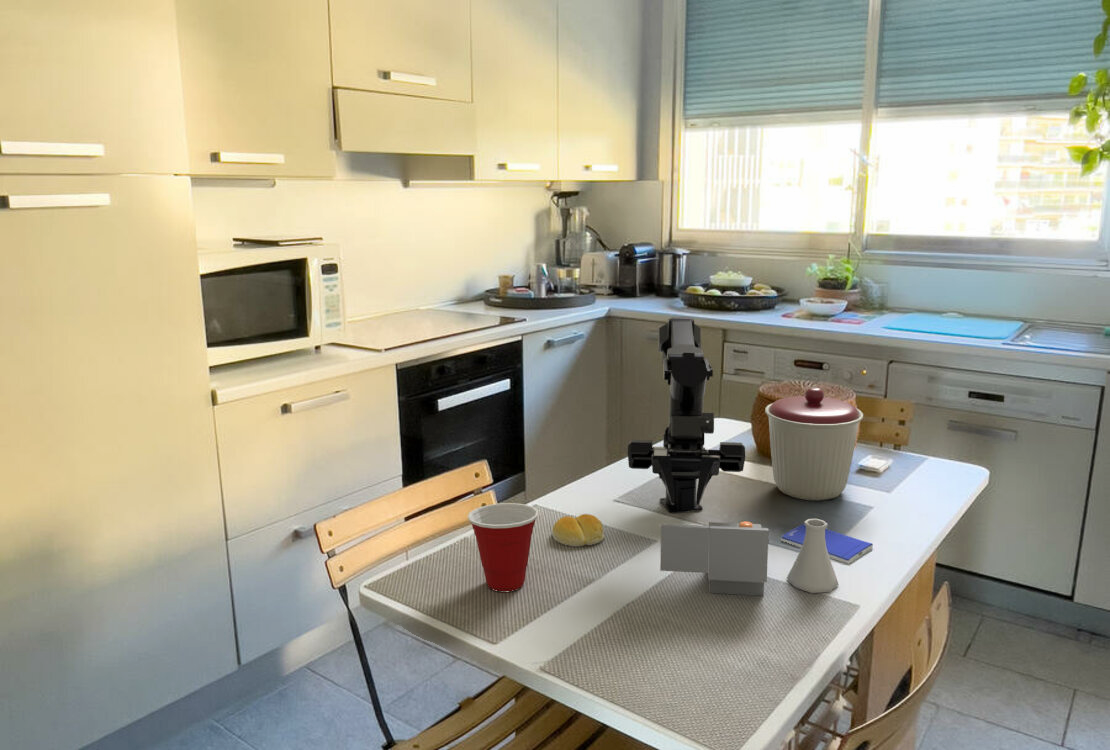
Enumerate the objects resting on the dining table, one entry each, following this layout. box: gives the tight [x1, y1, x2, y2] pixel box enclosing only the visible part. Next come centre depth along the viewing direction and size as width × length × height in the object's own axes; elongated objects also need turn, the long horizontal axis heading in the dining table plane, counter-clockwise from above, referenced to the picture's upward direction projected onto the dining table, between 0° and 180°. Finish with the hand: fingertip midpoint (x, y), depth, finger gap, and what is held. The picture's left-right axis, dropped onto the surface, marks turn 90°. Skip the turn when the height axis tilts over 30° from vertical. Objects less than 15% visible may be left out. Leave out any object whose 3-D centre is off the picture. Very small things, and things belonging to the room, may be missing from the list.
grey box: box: [707, 520, 766, 597], centre depth 130 cm, size 9×8×9 cm
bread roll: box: [551, 513, 605, 547], centre depth 148 cm, size 8×9×4 cm
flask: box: [786, 518, 839, 594], centre depth 129 cm, size 7×7×10 cm
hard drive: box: [780, 523, 874, 565], centre depth 143 cm, size 2×8×12 cm
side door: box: [659, 523, 770, 583], centre depth 125 cm, size 1×16×8 cm, turn 81°
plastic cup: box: [467, 502, 539, 592], centre depth 131 cm, size 11×11×12 cm
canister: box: [764, 386, 864, 501], centre depth 165 cm, size 18×18×21 cm
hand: (685, 504), depth 134 cm, fingers open, 4 cm apart
